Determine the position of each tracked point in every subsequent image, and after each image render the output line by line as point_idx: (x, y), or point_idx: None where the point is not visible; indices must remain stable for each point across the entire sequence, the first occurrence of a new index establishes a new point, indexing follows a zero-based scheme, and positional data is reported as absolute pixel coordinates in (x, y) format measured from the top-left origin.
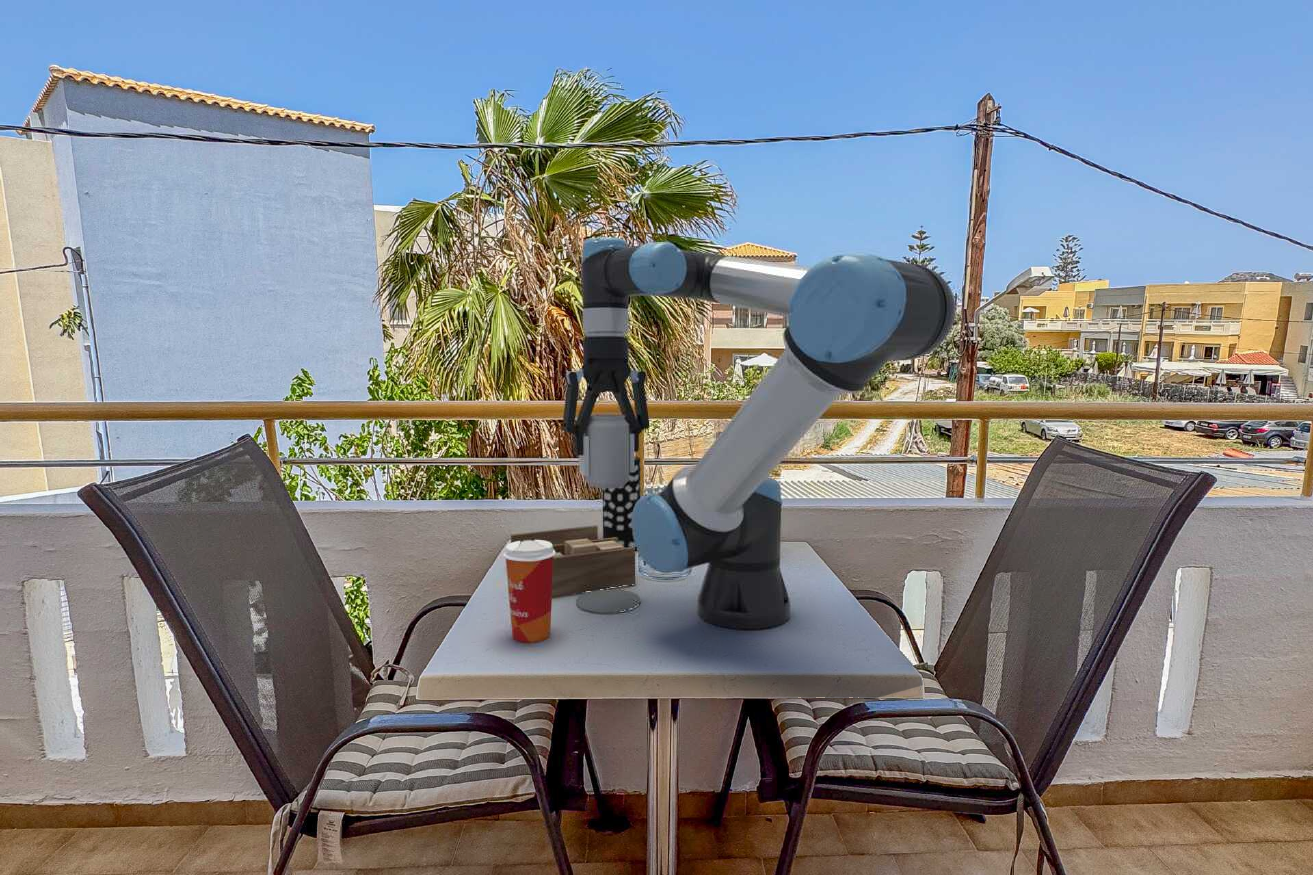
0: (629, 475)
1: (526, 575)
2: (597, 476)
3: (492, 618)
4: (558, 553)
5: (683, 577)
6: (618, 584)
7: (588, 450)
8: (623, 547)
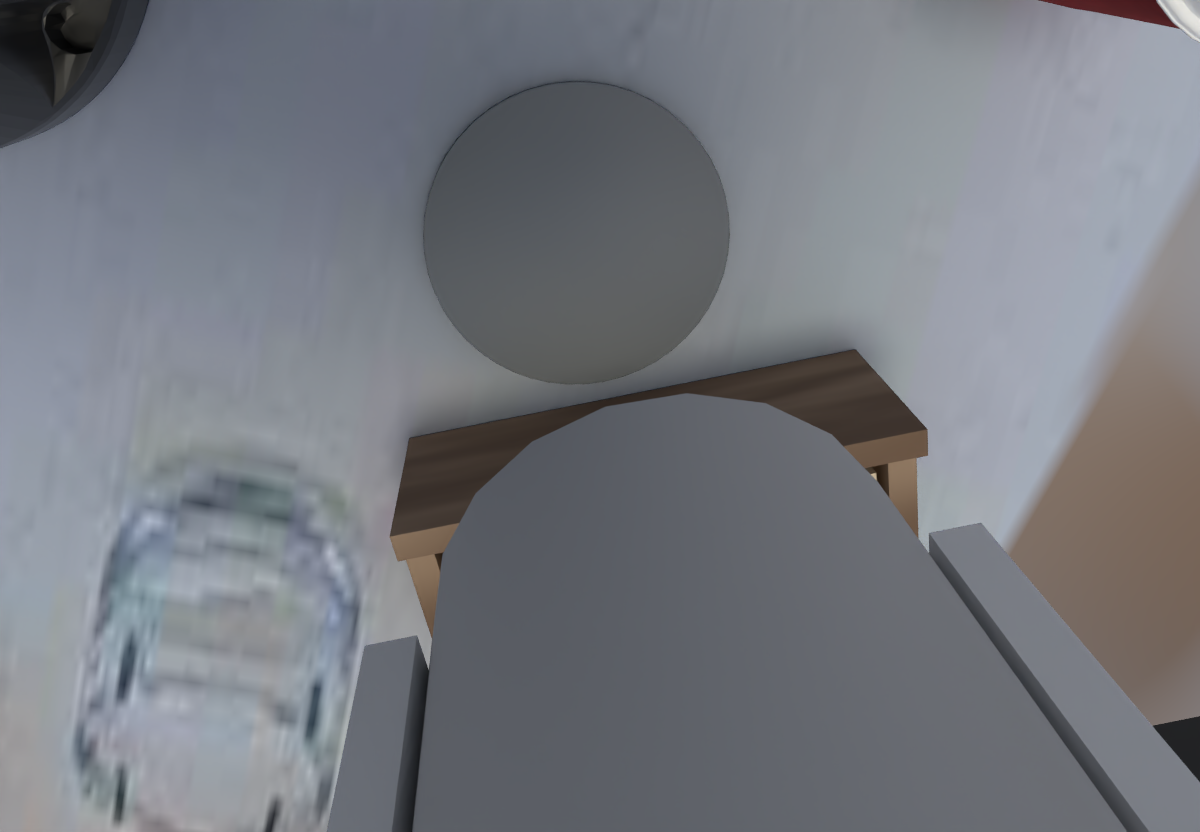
0: None
1: None
2: (856, 474)
3: (1101, 173)
4: None
5: (157, 493)
6: (493, 427)
7: (1108, 757)
8: None
